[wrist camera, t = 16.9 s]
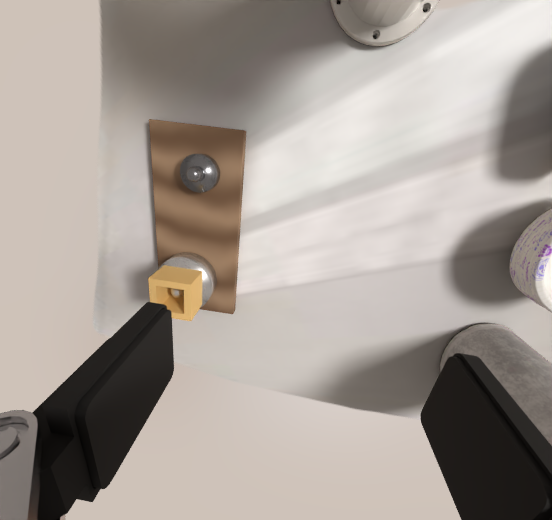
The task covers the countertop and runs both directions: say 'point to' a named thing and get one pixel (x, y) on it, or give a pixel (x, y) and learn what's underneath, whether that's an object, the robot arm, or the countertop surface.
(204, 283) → the hub
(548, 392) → the grey bottle
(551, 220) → the paper bowls
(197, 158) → the round drawer knob
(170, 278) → the hollow square block
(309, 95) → the countertop surface
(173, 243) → the board
